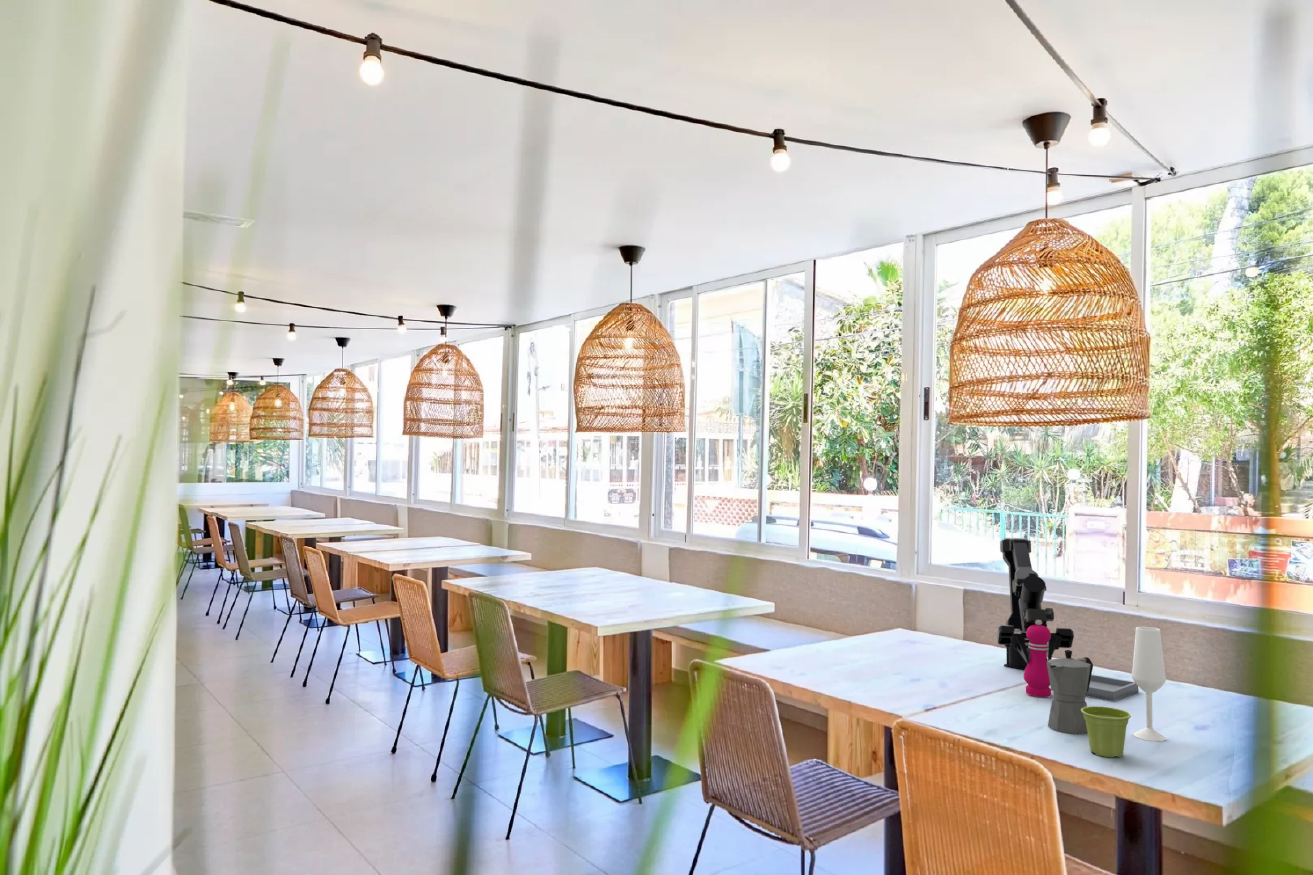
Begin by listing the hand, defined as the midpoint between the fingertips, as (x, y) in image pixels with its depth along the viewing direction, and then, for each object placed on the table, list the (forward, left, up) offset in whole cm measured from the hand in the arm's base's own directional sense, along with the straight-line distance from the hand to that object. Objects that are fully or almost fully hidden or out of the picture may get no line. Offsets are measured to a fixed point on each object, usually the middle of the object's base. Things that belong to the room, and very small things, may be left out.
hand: (1038, 662), depth 232 cm
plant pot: (+32, -36, -9) cm, 49 cm away
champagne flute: (+33, -16, -9) cm, 38 cm away
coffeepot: (+19, -23, -9) cm, 31 cm away
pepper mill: (-1, +1, -9) cm, 9 cm away
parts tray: (+7, +17, -9) cm, 20 cm away
